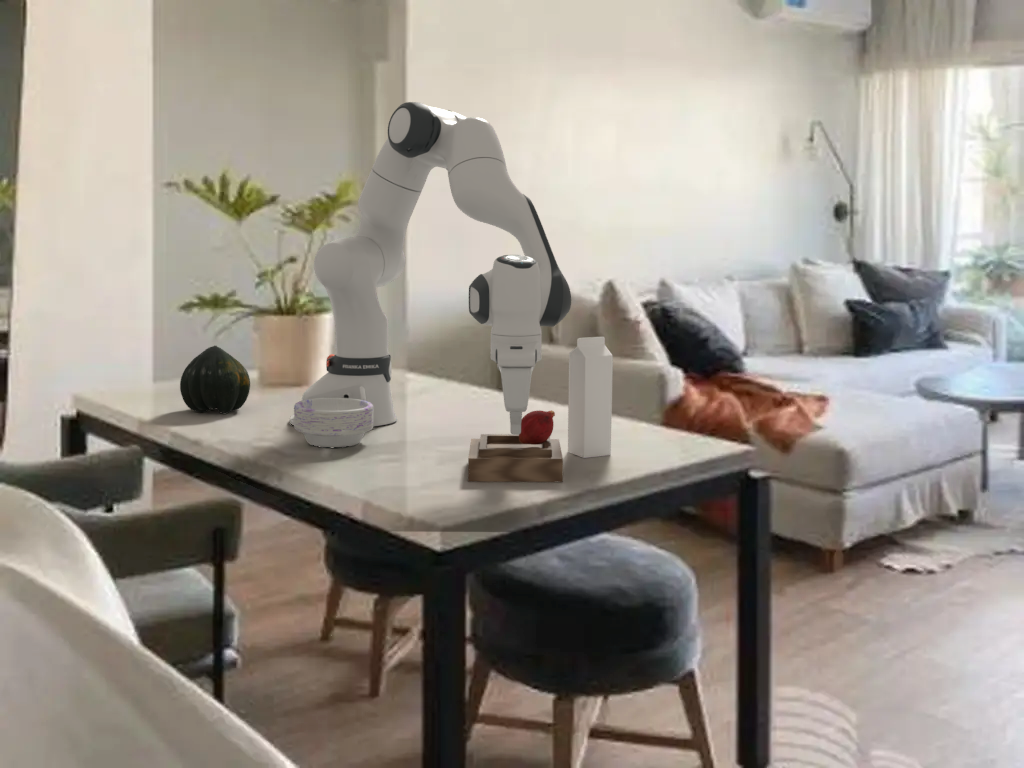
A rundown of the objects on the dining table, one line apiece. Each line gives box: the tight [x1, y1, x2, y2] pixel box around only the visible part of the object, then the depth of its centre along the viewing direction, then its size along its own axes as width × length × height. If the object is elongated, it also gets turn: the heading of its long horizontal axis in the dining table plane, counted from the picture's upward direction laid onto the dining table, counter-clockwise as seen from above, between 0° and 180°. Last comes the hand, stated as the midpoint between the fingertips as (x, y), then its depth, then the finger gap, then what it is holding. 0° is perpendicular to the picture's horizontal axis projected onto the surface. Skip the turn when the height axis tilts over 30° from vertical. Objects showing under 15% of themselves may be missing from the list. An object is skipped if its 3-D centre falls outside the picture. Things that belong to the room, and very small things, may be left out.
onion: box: [518, 410, 556, 445], centre depth 209 cm, size 6×6×8 cm
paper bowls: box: [293, 398, 374, 448], centre depth 230 cm, size 15×15×8 cm
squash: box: [179, 345, 251, 414], centre depth 263 cm, size 14×15×15 cm
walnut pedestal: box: [467, 433, 564, 483], centre depth 209 cm, size 16×16×5 cm
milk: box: [567, 336, 614, 459], centre depth 222 cm, size 6×6×22 cm
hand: (515, 428), depth 208 cm, fingers open, 8 cm apart
